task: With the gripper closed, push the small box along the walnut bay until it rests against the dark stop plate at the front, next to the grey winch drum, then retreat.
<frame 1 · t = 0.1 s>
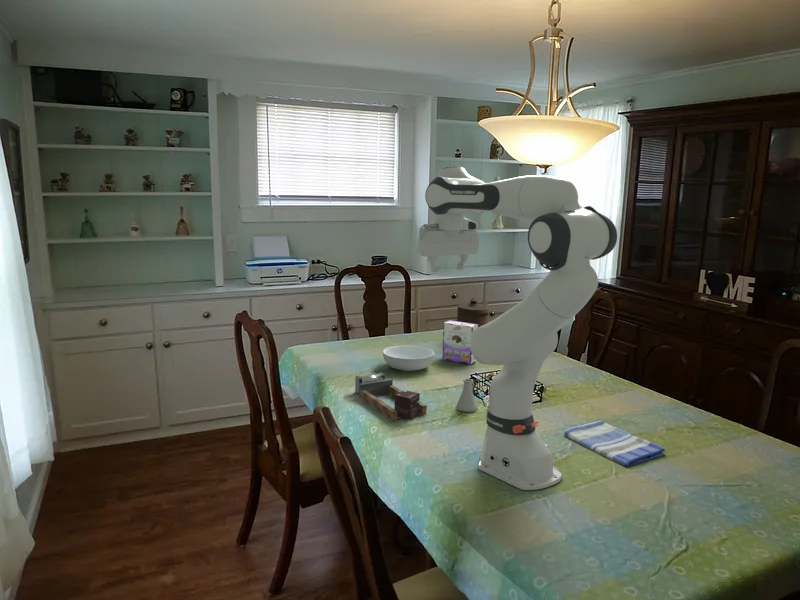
hand: (447, 270, 172), 48 cm above the table, tool pointing down, fingers open, 8 cm apart
serving bowl: (408, 368, 236), on the table
bay: (392, 406, 193), on the table
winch: (370, 391, 207), on the table
dish towel: (612, 446, 169), on the table
box: (406, 416, 186), on the table
wooden container: (471, 344, 275), on the table
flask: (466, 409, 193), on the table
candy box: (459, 361, 247), on the table
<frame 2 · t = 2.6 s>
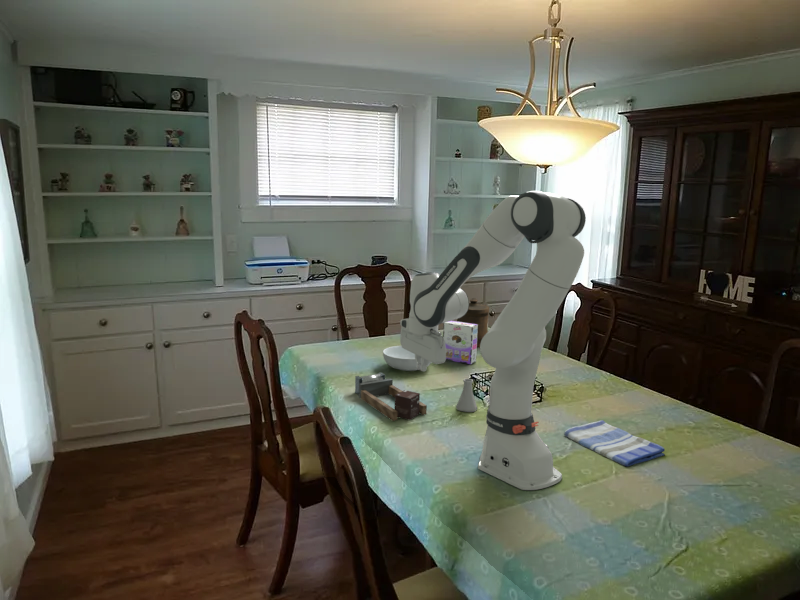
hand: (421, 369, 176), 18 cm above the table, tool pointing down, fingers closed
nothing on the table moved.
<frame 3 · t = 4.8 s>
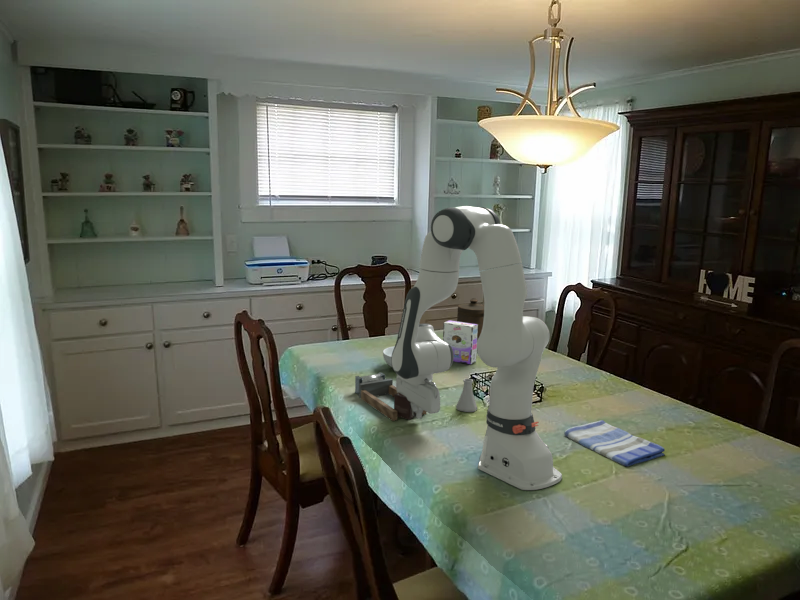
hand: (417, 417, 180), 2 cm above the table, tool pointing down, fingers closed
box: (406, 415, 186), on the table, touching gripper
everything else where it was.
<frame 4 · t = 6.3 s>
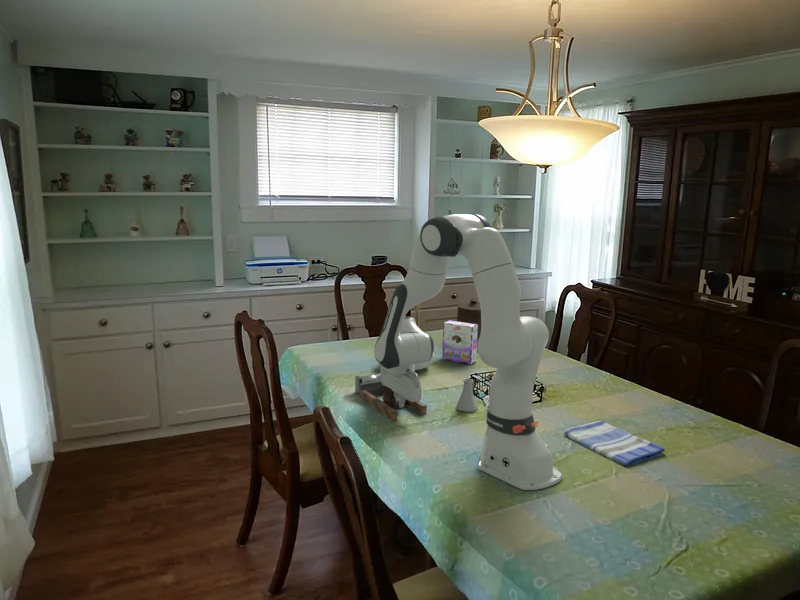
hand: (399, 406, 189), 2 cm above the table, tool pointing down, fingers closed
box: (394, 405, 194), on the table, touching gripper
everything else where it was.
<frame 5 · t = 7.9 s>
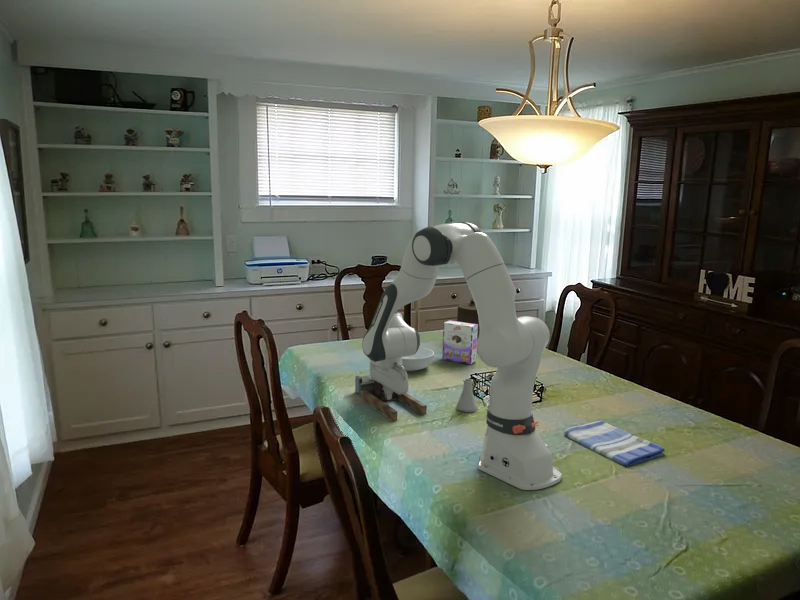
hand: (388, 398, 195), 2 cm above the table, tool pointing down, fingers closed
box: (384, 398, 201), on the table, touching bay, gripper
everything else where it was.
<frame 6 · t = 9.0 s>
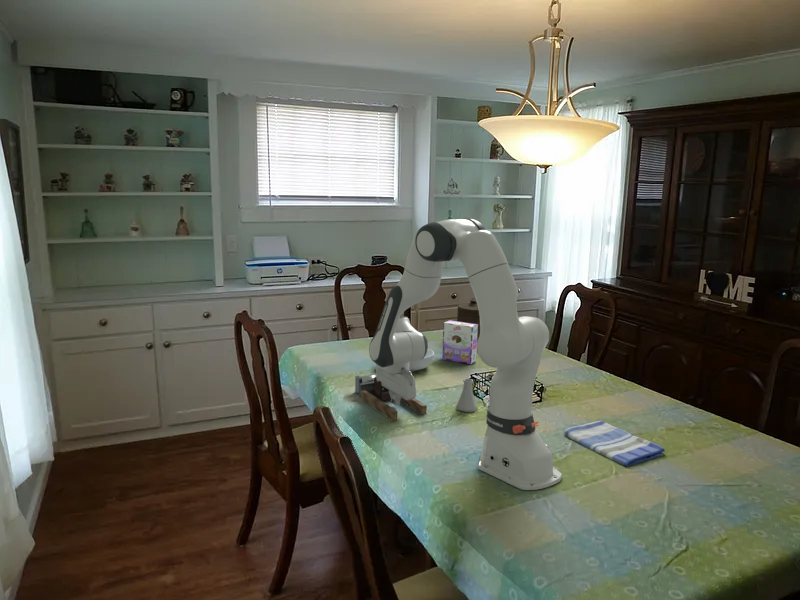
hand: (395, 404, 192), 1 cm above the table, tool pointing down, fingers closed
box: (384, 398, 201), on the table
everything else where it was.
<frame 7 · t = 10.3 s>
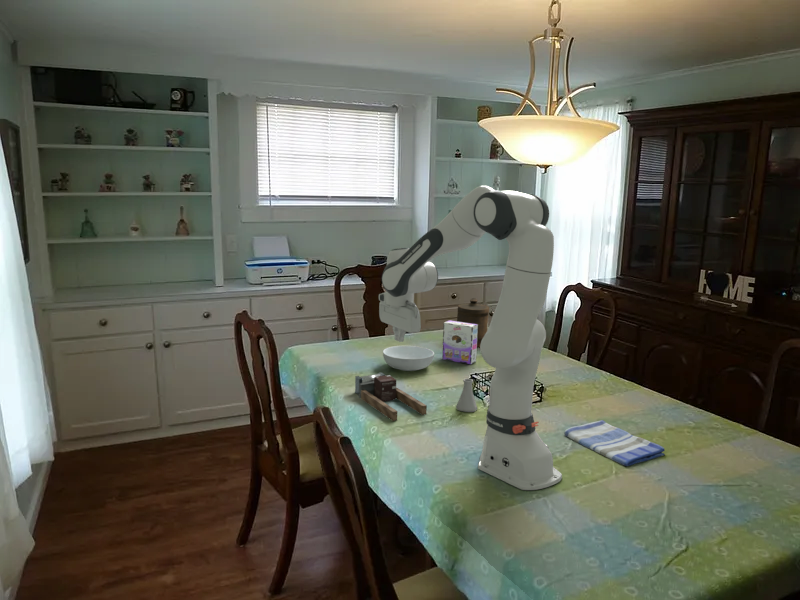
hand: (399, 340, 186), 23 cm above the table, tool pointing down, fingers closed
nothing on the table moved.
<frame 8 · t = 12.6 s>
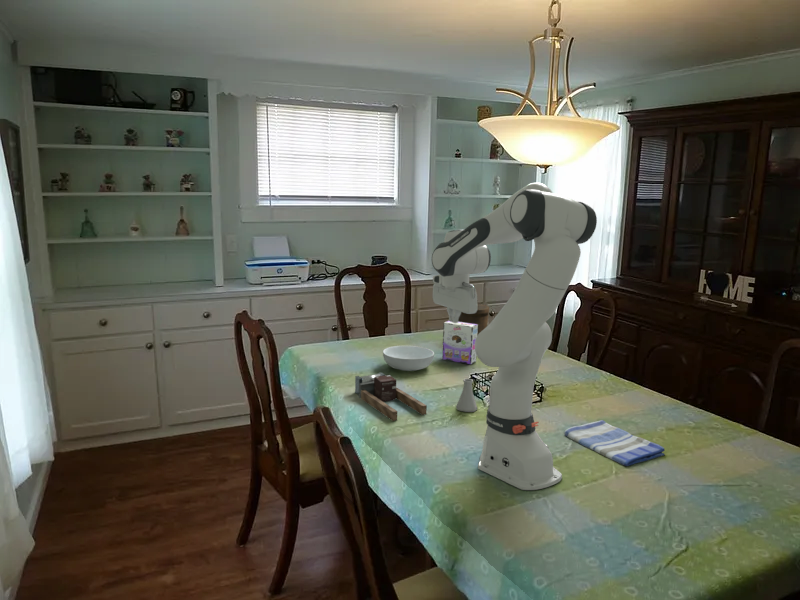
hand: (453, 322, 189), 29 cm above the table, tool pointing down, fingers closed
nothing on the table moved.
at the end: box inside the target area (1.4 cm from its centre), on the table; box tilted 0°; box moved 16.9 cm from its start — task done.
